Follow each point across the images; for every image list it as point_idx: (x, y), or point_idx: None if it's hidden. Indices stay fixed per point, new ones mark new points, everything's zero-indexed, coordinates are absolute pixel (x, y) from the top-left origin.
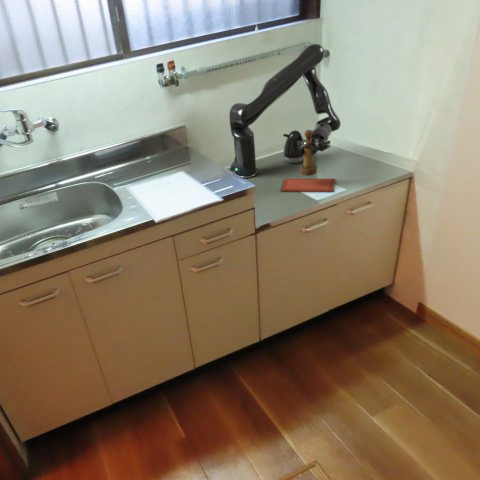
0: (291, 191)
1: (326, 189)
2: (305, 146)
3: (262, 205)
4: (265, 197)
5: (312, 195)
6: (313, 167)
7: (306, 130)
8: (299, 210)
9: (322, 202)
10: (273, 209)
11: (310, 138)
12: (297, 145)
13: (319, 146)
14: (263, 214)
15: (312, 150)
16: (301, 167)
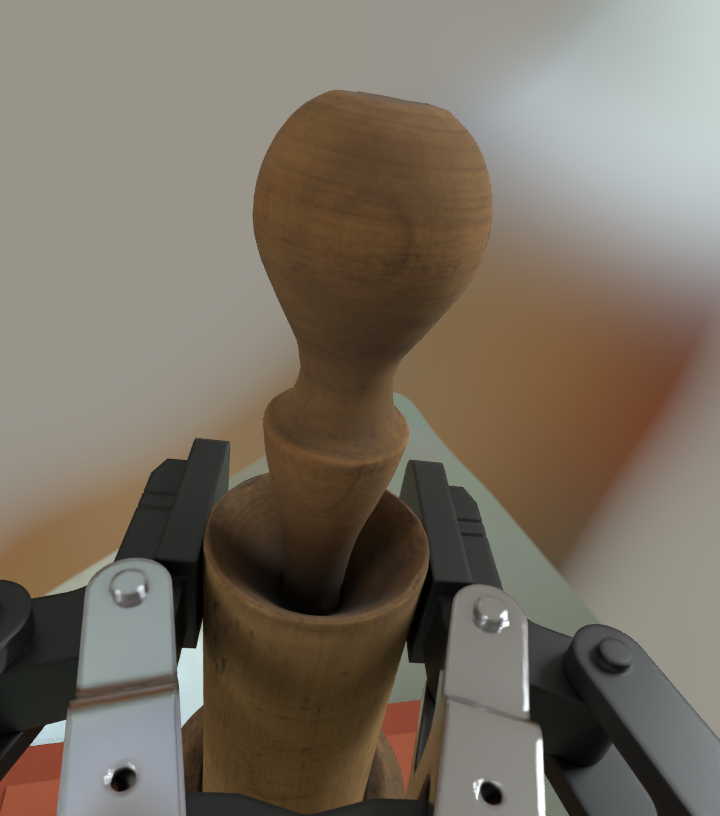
0: (393, 709)
1: (43, 773)
2: (405, 581)
3: (482, 501)
4: (534, 591)
5: (190, 661)
6: (197, 728)
7: (454, 117)
8: (252, 471)
9: (108, 562)
10: (398, 471)
11: (298, 347)
12: (627, 647)
13: (59, 622)
14: (422, 433)
15: (215, 443)
16: (378, 740)
